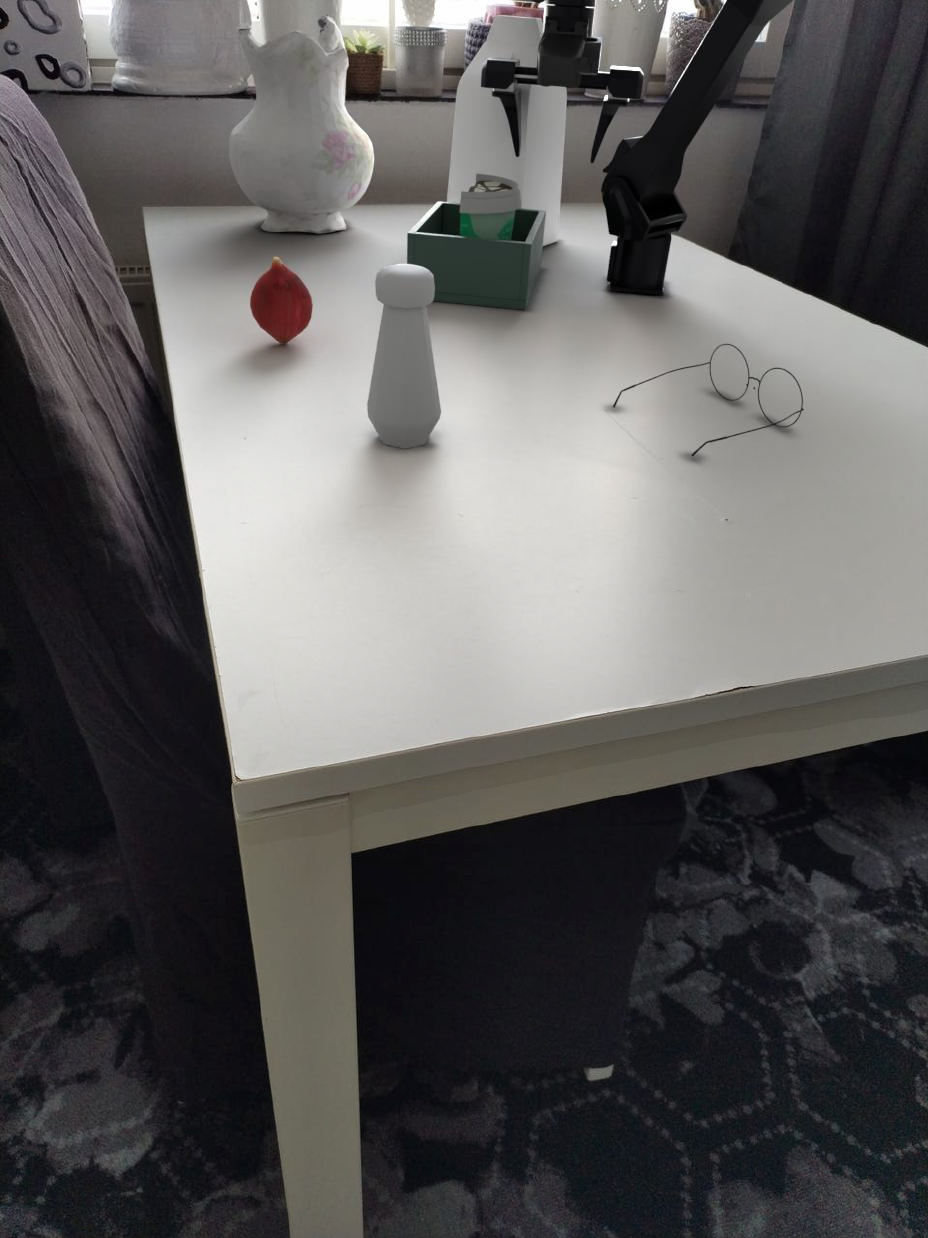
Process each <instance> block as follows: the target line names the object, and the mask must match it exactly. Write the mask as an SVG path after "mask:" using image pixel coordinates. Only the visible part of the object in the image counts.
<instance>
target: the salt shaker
mask: <svg viewBox="0 0 928 1238" xmlns="http://www.w3.org/2000/svg"><path fill="white" fill-rule="evenodd" d="M434 293H435V285H434V277H433V274H432V273H431V272H430V271H429V270H428V269H426V268H424V267H421V266H417V265H413V264H407V263H395V264H390V265H385V266H383V267H382V268H380V269H379V270H378V271H377V272H376V276H375V296H376V299H377V301H378V302H379V303H381V304H383V305H382V312H381V316H380V317H381V318H380V323H379V330H378V335H377V336H378V337H377V343H376V348H375V354H374V361H373V368H372V373H371V378H370V383H369V391H368V398H367V404H366V407H367V409H366V411H367V416H368V417H367V418H368V419H369V421H370V423H371V424H372V426H373V428H374V430H375V431H376V434H377V435H378V437H379V439H380V440H381V442H382V445H385V446H391V447H395V448H400V449H404V450H405V449H410V448H415V447H421V446H425V445H426V443H427V441H428V439H429V437H430V436H431V434H432V432H433V431H434V429H435V427H436V426H437V424H438V422H439V420H440V418H441V416H442V415H441V414H442V408H441V401H440V400H441V399H440V393H439V387H438V379H437V372H436V365H435V358H434V351H433V344H432V337H431V331H430V324H429V323H430V322H429V317H428V310H427V306H428V305H430V304H432V303H433V302H434V301H433V299H434Z"/></svg>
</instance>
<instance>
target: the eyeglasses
mask: <svg viewBox="0 0 928 1238" xmlns="http://www.w3.org/2000/svg"><path fill="white" fill-rule="evenodd" d="M722 346H730V347H733V348H735V349H736V350H737V351H738V352H739V354H741V356H742V357H743V359H744V362H745V364H746V365H745V366H746V368H747V369H746V370H747V377H748V378H747V383H746V384H745V386H746V388H745V390H744V392H743V393H742V395H741V396H739V397H738V398H735V399H730V398H727V397H725V396H724V395H722V394H721V393H720V392H719V390H718V389H717V387H716V385H715V383H714V380H713V377H712V371H711V370H712V360H713V356H714V354H715V352H716V351H717V350H718V349H719V348H720V347H722ZM707 364H709V367H708V368H709V376H710V381H711V384H712V386H713V388H714V389H715V391H716V393H718V395H719V396H720V397H722V398H723V399H724V400H726V401H730V402H735V401H738V400H740V399H741V398H742V397H744V396H745V394H746V393H747V390H748V388H749V385H750V379H753V380H755V381H757V382H758V387H757V389H756V386H753V387H752V390H755V389H756V391H757V400H758V405H759V408H760V410H761V412H762V414H763V416H764V417H765V419H766V420H767V421H768V422H769V423H771V424H769V425H765V426H761V427H757V428H754V429H750V430H747V431H746V430H745V431H743V432H738V433H735V434H732V435H727V436H721V437H719V438H715V439H711V440H707V441H704V443H703V444H701V445H700V446H699V447H698V448H697V449H696V450H695V451H694V452H692V453H691V454H690V456H691V457H694V456H695V455H696V454H697V453H699V451H700V450H702V448H703V447H704V446H706V445H707V444H709V443H710V444H711V443H714V442H718V441H722V440H727V439H728V438H732V437H737V436H740V435H743V434H747V433H751V432H755V431H758V430H762V429H766V428H769V427H772V426H776V427H778V428H788V427H791V426H793V425H794V424H795V423H796V422H797V421H798V420H799V418H800V417H801V414H802V412H803V411H804V410H805V409H804V408H803V405H804V397H803V392H802V388H801V385H800V384H799V381H798V380H797V378H796V377H795V375H794V374H792V373H791V372H790V371H788V370H787V369H785V368H782V367H772V368H769V369H768V370H767V371H765V372H764V373H763V374H762V377H761V378H760V379H759V378H757V377H754V376H750V368H749V365H748V362H747V359H746V357H745V355H744V353H743V352H742V351H741V350H740V349H739V348H738V347H737V346H735V345H733V344H731V343H722V344H719V345H718V346H717V347H716V348H715V349H714V350H713V352H712V354H711V356H710V359H709V361H708V362H707V361H706V362H705V363H704V362H703V363H701V364H695V365H690V366H685V367H680V368H677V369H676V368H675V369H673V370H670V371H666V372H664V373H662V374H659V375H657V376H653V377H651V378H648V379H646V380H644V381H641V382H639V383H636V384H632V385H631V386H628V387H626V388H624V389H622V390H620V391H619V394H618V395H617V398H616V399H615V401H614V403H613V405H612V408H613V409H615V408H616V406H617V404H618V401H619V400H620V397H621V395H622V393H623V392H625V391H628V390H631V389H633V388H636V387H637V386H640V385H642V384H645V383H646V382H649V381H653V380H655V379H657V378H660V377H661V376H664V375H667V374H670V373H674V372H677V371H680V370H684V369H691V368H695V367H696V368H697V367H701V366H705V365H707ZM773 370H782V371H784V372H786V373H787V374H789V375H790V376H791V377H793V379H794V381H795V382H796V384H797V387H798V388H799V392H800V397H801V398H800V399H801V405H800V410H797V411H794V412H793V413H791V414H790V415H789V416H787V417H785V418H783V419H781V420H779V421H777V422H772V421H771V420H770V418H769V417H768V416H767V415H766V413H765V412H764V409H763V408H762V405H761V399H760V386H761V383H762V381H763V378H764V377H765V375H766V374H767V373H769V372H770V371H773ZM798 413H799V415H798V416H797V417H796V419H795V420H794V421H793V422H792V423H791V424H789V425H778V424H779V423H782V422H784V421H785V420H788V419H789V418H791V417H792V416H794V415H796V414H798Z"/></svg>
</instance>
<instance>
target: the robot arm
mask: <svg viewBox="0 0 928 1238" xmlns="http://www.w3.org/2000/svg"><path fill="white" fill-rule="evenodd" d="M503 1H506V2H517V3H531V4H542V3H544V10H543V19H542V22H543V31H542V38H541V41H540V43H539V46H538V58H537V67H526V66H520V59H511V58H497V57H492V58H490V59H488V60H487V61H486V62H485V63H484V64H483V66H482V73H481V87H484V88H493V91H492V96H493V97H498V98H500V100H501V103H502V105H503V107H504V110H505V113H506V116H507V119H508V122H509V127H510V132H511V136H512V141H513V146H514V151H515V156H516V157H519V156H520V148H521V89H517V86H518V85H519V84H531V85H541V86H545V87H549V86H558V87H566V89H586V90H599V91H601V90H602V91H605V94H607V95H605V96H604V99H603V102H602V105H601V110H600V113H599V114H600V115H599V118H598V123H597V126H596V131H595V135H594V139H593V142H592V147H591V151H590V152H591V154H590V164H594V163H595V160H596V158H597V156H598V153H599V150H600V148H601V146H602V143H603V141H604V138H605V136H606V133H607V131H608V129H609V126H610V125H611V123H612V121H613V119H614V117H615V115H616V114H617V112H618V110H619V109H620V108H621V107H622V108H628V107H629V104H630V100H641V98H642V92H643V85H644V77H645V74H644V72H643V70H642V69H641V67H634V66H633V67H632V66H623V65H622V66H620V65H618V66H617V65H611V66H610V69H609V72H608V71H599V70H600V65H601V57H602V47H603V37H600V36H599V37H597V36H593V32H594V31H593V30H594V21H595V14H596V13H595V12H596V5H597V0H503ZM793 1H794V0H725V1H724V3H723V5H722V7H721V8H720V10H719V12H718V13H717V15H716V17H715V18H714V20H713V21H712V23H711V25H710V26H709V28H708V30H707V32H706V33H705V35H704V36H703V38H702V40H701V42H700V44H699V45H698V47H697V49H696V50H695V52H694V54H693V55H692V57H691V58H690V61H689V62H688V64H687V65H686V67H685V69H684V70H683V72H682V74H681V75H680V77H679V79H678V80H677V82H676V84H675V86H674V87H673V89H672V91H671V92H670V94H669V95H668V97H667V99H666V101H665V103H664V104H663V106H662V108H661V109H660V111H659V113H658V114H657V116H656V118H655V120H654V121H653V123H652V125H651V126H650V127H649V130H648V131H647V132H646V133H645V134H644V135H642V136H636V137H629V138H622V139H621V140H620V142H619V144H617V147H616V150H615V152H614V154H613V156H612V159H611V160H610V162H609V163H608V165H606V166H605V167H604V168H603V169H602V172H603V173H605V174H606V175H604V178H603V180H602V182H601V186H600V193H601V197H602V199H601V200H602V203H603V206H604V209H605V215H606V222H607V230H608V234H609V235H610V236H615V237H617V238H616V240H613V241H612V242H611V246H610V250H609V259H608V266H607V272H606V281H607V283H609V287H608V289H609V291H615V292H625V293H635V294H646V295H654V296H655V295H657V296H663V295H665V294H664V293H665V278H666V273H667V266H668V262H669V261H668V260H669V255H670V250H671V244H672V237H673V236H672V234H673V233H680V232H681V231H682V229H683V227H684V224H685V223H686V221H687V219H688V213H687V212H686V210H685V208H684V206H683V204H682V202H681V200H680V198H679V197H678V195H677V194H676V191H675V190H676V187H677V185H678V183H679V181H680V178H681V176H682V171H683V165H684V159H685V155H686V151H687V149H688V147H689V146H690V145H691V143H692V141H693V140H694V138H695V136H696V135H697V134H698V132H699V130H701V127H702V126H703V124H704V122H705V121H706V119H707V118H708V117H709V115H710V114H711V112H712V110H713V108H714V107H715V105H716V104H717V102H718V100H719V99H720V98H721V96H722V94H723V93H724V91H725V90H726V88H727V87H728V85H729V83H730V82H731V81H732V79H733V77H734V75H735V74H736V72H737V71H738V69H739V68H740V66H741V65H742V63H743V62H744V60H745V59H746V57H747V56H748V54H749V52H750V50H751V49H752V48H753V46H754V44H755V43H756V41H757V39H758V38H759V37H760V35H761V33H762V32H763V31H764V28H766V26H767V25H768V24H769V22H770V21H772V19H774V18H775V17H776V16H777V15H778V14H779V13H781V12H782V11H783V10H784V9H785V8H787V6H789V5H790V4H791V3H792V2H793Z"/></svg>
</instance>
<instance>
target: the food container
mask: <svg viewBox="0 0 928 1238" xmlns="http://www.w3.org/2000/svg"><path fill="white" fill-rule="evenodd" d="M521 206H522V203H521V194H520V190H519V189H518V184H517V183H516V182H515V181H513V180H510V179H507V178H503V177H499V176H493V175H486V174H476V184H475V185H474V186H471V187H470V189H469V191H468V192H464V191H461V200H460V213H461V215H460V236H465V237H476V238H487V239H498V240H509V241H511V237H512V230H513V223H514V216H515V210H516V209H519V208H520V207H521Z"/></svg>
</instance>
